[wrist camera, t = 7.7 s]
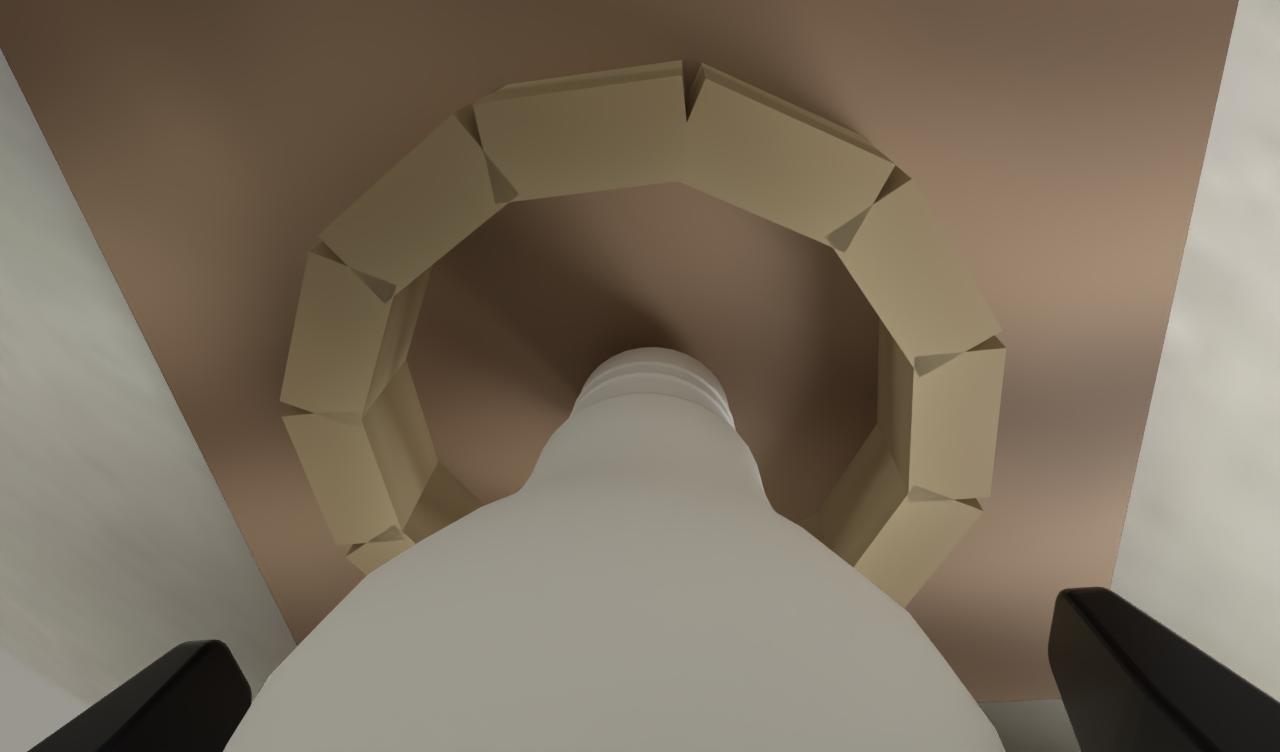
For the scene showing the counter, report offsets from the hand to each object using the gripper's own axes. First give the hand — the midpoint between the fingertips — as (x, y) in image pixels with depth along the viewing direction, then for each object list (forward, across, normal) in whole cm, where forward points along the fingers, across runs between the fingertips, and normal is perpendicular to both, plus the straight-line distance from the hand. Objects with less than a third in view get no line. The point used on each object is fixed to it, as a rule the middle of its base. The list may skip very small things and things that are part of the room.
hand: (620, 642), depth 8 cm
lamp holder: (+6, 0, 0) cm, 6 cm away
